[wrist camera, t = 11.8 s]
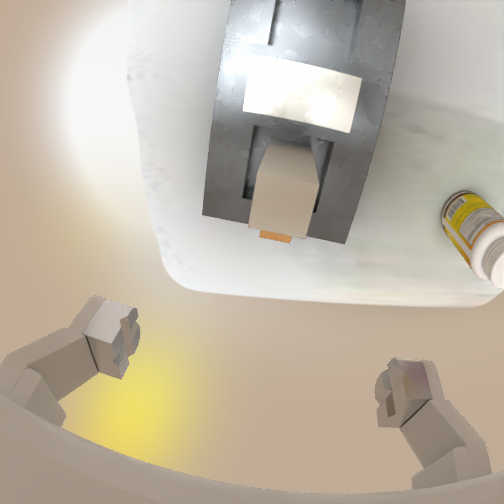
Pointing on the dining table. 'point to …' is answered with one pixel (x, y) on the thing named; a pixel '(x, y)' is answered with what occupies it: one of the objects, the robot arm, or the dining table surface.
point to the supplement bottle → (476, 235)
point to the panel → (301, 100)
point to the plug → (284, 192)
